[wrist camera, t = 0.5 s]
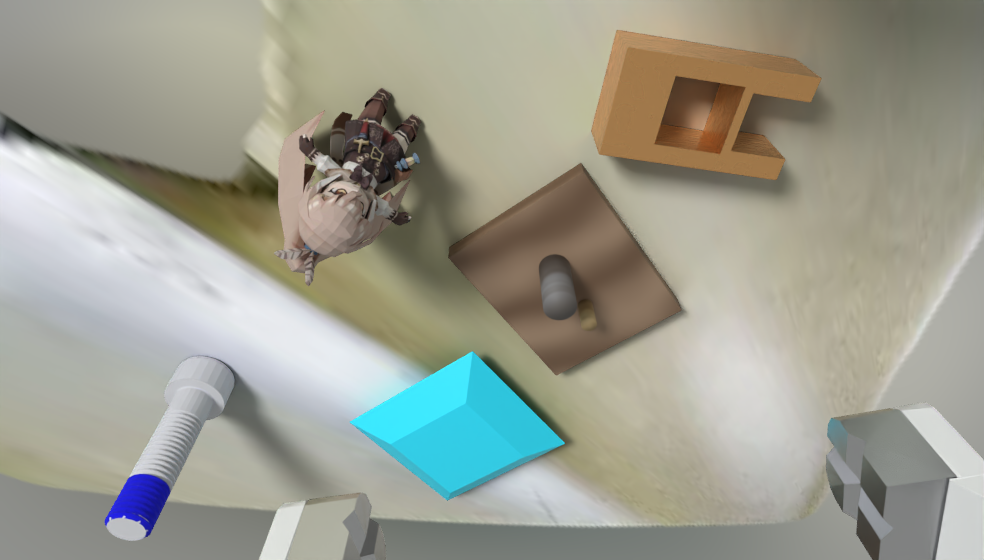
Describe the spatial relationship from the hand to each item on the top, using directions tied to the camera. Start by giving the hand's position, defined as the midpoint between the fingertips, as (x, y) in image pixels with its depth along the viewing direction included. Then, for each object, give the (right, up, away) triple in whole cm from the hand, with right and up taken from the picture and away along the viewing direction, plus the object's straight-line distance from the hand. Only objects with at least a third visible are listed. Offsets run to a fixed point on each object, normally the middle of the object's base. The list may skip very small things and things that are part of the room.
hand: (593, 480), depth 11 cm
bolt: (-27, -5, +47) cm, 54 cm away
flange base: (+4, +4, +40) cm, 41 cm away
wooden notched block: (+11, +16, +32) cm, 37 cm away
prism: (-5, -9, +50) cm, 51 cm away
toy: (-11, +13, +34) cm, 38 cm away
